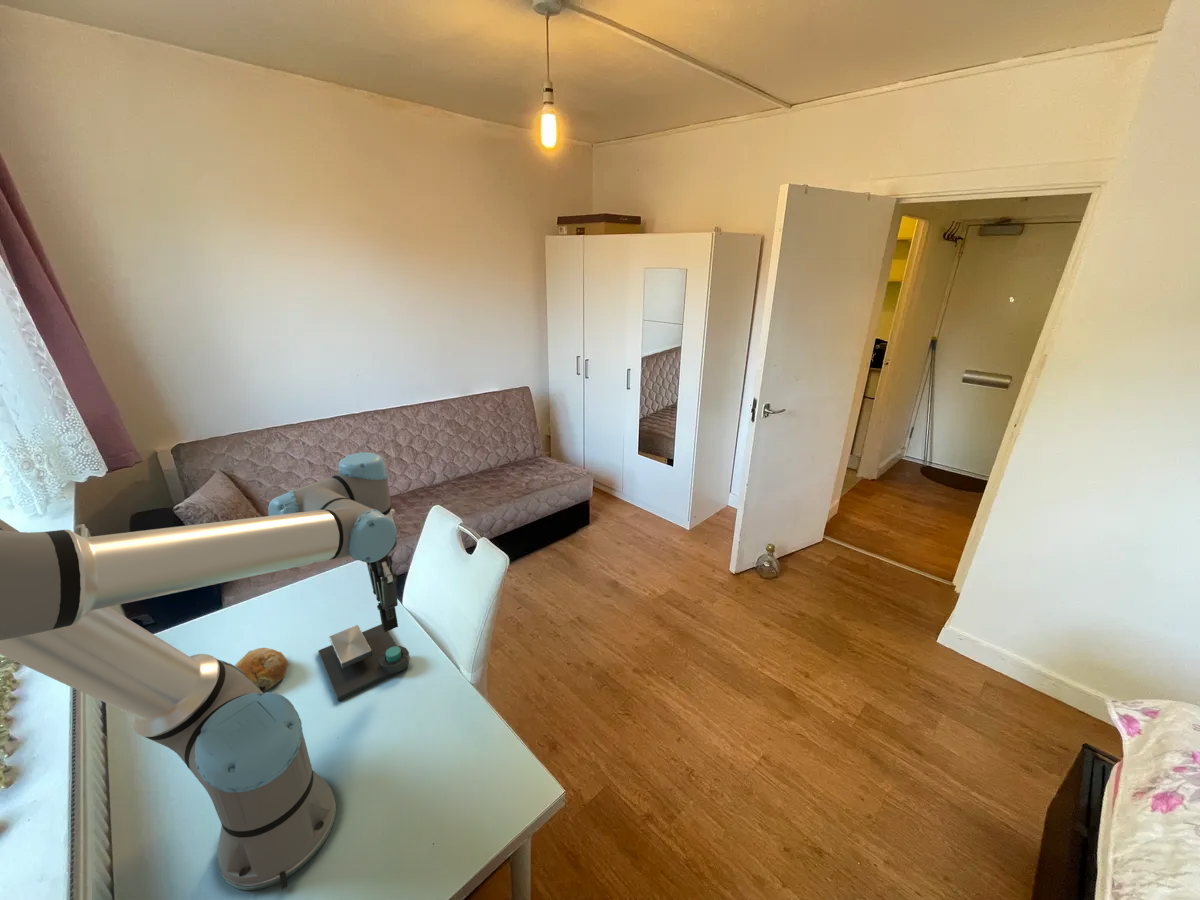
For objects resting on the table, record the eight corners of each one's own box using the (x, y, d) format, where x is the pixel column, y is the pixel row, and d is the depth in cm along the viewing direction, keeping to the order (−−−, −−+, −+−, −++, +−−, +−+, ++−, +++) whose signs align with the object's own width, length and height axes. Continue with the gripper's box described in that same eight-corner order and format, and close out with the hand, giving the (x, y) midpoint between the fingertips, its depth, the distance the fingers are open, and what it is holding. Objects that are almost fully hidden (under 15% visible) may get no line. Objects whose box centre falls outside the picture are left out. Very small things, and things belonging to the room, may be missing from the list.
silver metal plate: (372, 655, 105) (371, 650, 105) (342, 669, 102) (341, 663, 101) (358, 629, 112) (357, 624, 112) (330, 641, 109) (329, 636, 108)
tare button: (403, 658, 105) (402, 652, 105) (389, 665, 103) (388, 658, 103) (398, 650, 107) (397, 644, 107) (384, 656, 106) (383, 650, 105)
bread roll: (297, 681, 106) (301, 644, 107) (260, 702, 96) (265, 661, 96) (254, 677, 107) (258, 640, 107) (214, 697, 97) (218, 656, 97)
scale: (414, 668, 106) (412, 658, 105) (339, 705, 97) (336, 694, 96) (387, 625, 118) (386, 615, 117) (319, 654, 109) (316, 644, 108)
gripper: (405, 539, 91) (419, 637, 100) (382, 511, 101) (397, 603, 109) (363, 553, 87) (382, 654, 96) (343, 523, 96) (362, 618, 105)
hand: (390, 627), depth 103 cm, fingers closed
